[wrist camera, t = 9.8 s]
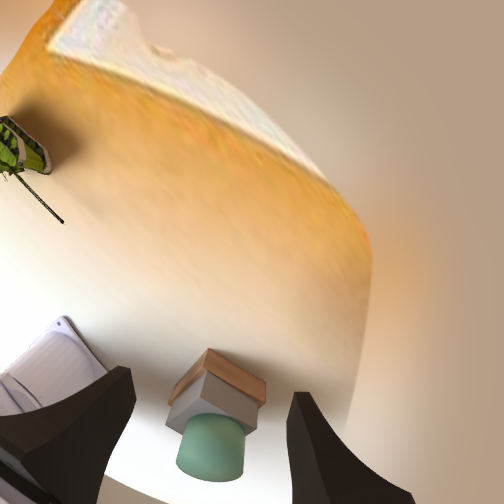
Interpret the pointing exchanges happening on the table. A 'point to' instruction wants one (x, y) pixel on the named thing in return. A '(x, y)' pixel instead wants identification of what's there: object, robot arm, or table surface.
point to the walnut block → (222, 377)
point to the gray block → (213, 404)
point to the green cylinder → (212, 448)
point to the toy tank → (22, 153)
